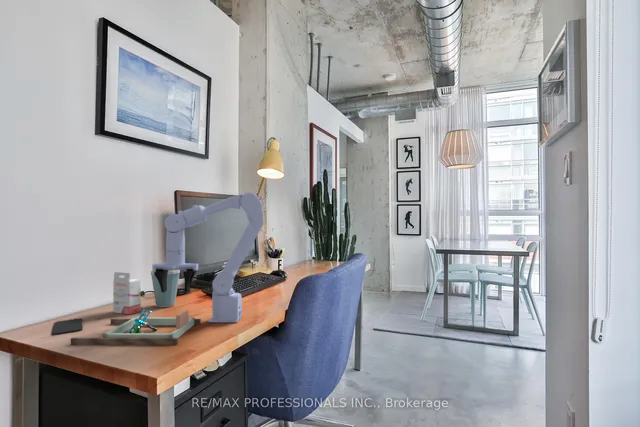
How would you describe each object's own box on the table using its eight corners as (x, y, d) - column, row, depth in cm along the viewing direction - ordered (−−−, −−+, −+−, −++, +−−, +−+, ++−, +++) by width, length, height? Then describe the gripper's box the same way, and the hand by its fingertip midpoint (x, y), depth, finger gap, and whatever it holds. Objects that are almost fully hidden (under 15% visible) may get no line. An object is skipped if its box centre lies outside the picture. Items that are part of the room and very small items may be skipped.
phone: (82, 317, 118) (82, 329, 106) (82, 320, 118) (82, 331, 106) (54, 321, 114) (52, 334, 101) (54, 324, 114) (52, 336, 101)
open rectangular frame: (194, 324, 111) (194, 305, 111) (172, 342, 95) (172, 320, 95) (134, 324, 111) (134, 305, 111) (102, 342, 95) (102, 320, 95)
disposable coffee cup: (149, 310, 128) (149, 269, 128) (151, 303, 138) (151, 266, 138) (180, 307, 133) (180, 268, 133) (179, 301, 142) (179, 264, 143)
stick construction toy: (130, 321, 107) (145, 302, 107) (151, 331, 110) (166, 312, 110) (119, 346, 96) (136, 324, 96) (143, 356, 99) (159, 335, 98)
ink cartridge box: (141, 311, 127) (141, 271, 127) (129, 315, 123) (129, 273, 123) (124, 309, 130) (124, 269, 131) (112, 312, 126) (112, 271, 126)
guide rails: (200, 323, 112) (200, 318, 112) (176, 344, 94) (176, 338, 94) (112, 323, 113) (112, 318, 113) (70, 344, 94) (70, 338, 94)
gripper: (147, 251, 111) (147, 294, 110) (192, 251, 110) (192, 294, 110) (158, 249, 118) (158, 289, 117) (200, 249, 117) (200, 289, 117)
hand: (175, 291), depth 114 cm, fingers open, 7 cm apart
